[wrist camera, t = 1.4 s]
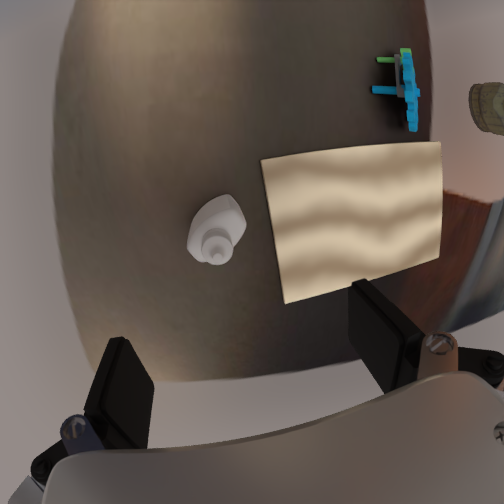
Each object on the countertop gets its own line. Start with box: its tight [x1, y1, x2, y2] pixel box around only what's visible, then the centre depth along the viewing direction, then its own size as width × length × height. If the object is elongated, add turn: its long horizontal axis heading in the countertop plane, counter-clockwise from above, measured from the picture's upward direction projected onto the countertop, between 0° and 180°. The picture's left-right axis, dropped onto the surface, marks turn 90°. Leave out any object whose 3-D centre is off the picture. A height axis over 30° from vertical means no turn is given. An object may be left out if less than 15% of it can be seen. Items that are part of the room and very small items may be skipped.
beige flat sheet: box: [260, 141, 442, 304], centre depth 33 cm, size 18×26×1 cm
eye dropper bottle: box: [187, 194, 246, 265], centre depth 25 cm, size 4×6×12 cm
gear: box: [372, 48, 420, 132], centre depth 25 cm, size 11×6×10 cm
